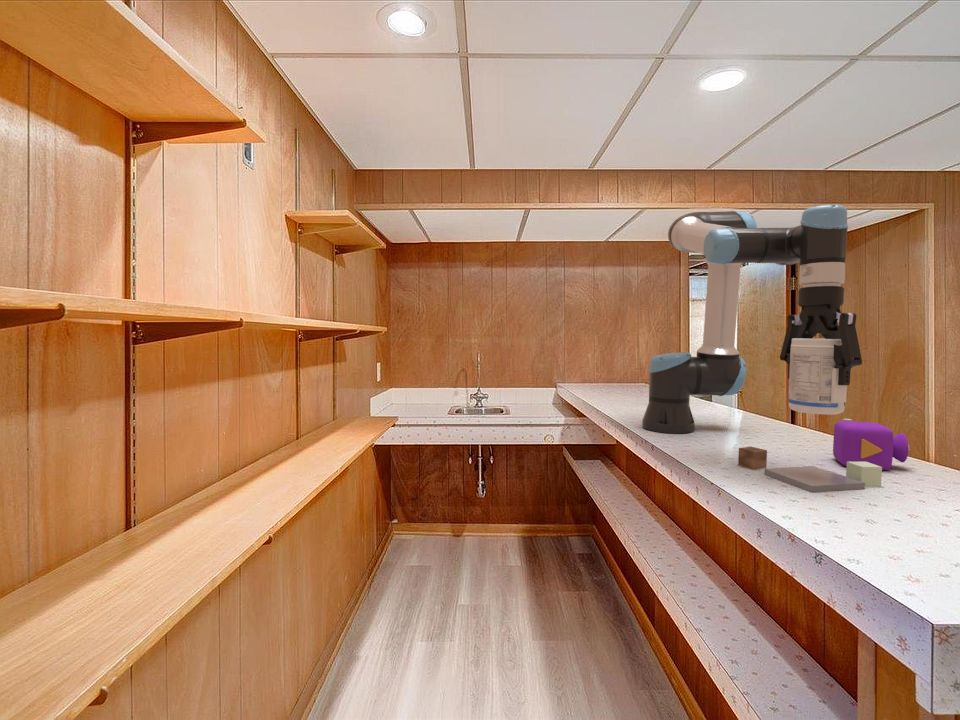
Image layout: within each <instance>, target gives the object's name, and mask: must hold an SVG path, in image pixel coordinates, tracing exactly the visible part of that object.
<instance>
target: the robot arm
mask: <svg viewBox="0 0 960 720" xmlns="http://www.w3.org/2000/svg"><path fill="white" fill-rule="evenodd" d="M800 219H801V220H800V222H799V223H800V225H797V226H793V227H758V226H757V225H758V224H757V222H756V220H755V218H754V216H753V215H752V214H751V213H749V212H746V211H736V210H734V211H733V210H730V211H728V210H727V211H695V212H694V211H693V212H689V213H685V214H683V215H682V216H681V215H680V216H678V217H677V218H676V219H675V220H674V221H673V222H672V224H671V225H670V226H669V229H668V232H667V237H668V242H669V244H670V245H671V246H672V247H673V249H675V250H677V251H680V252H682V253H689V254H690V253H692V254H701V255H703V257H702V258H703V261H704V262H705V263H706V265H707V267H708V268H707V282H706V294H705V295H706V297H705V310H704V321H703V322H704V323H703V324H704V325H703V335H702V336H703V337H702V338H703V340H702V345H701V346H700V347H699V348H698V349H697V350H696V356H692V353H691V352H684V351H683V352H682V351H681V352H667V353H661V354H655V355H653V356H652V357H651V358H650V361H649V370H648V372H649V379H648V381H649V382H648V384H649V385H648V404H647V406H646V410H645V412H644V413H643V414H644V415H643V418H642V420H641V421H642V422H641V426H642V427H641V428H643V429H645V430H648V431H651V432H652V431H653V432H659V433H664V434H665V433H666V434H667V433H668V434H687V433H688V434H689V433H693V432H695V428H696V427H695V426H696V425H695V420H694V416H693V413H692V410H691V407H690V398H691V397H690V396H718V397H723V396H734V395H736V394H738V393H739V392H740V391H741V389H742V388H743V386H744V384H745V381H746V376H747V367H746V365H747V363H746V361H745V360H744V358H742V357H740V351H739V350H737V348H736V346H735V343H736V342H735V341H736V328H737V316H738V303H739V289H740V279H741V266H742V265H743V264H776V265H778V266H786V265H787V266H792V265H795V264H799V276H798V277H799V278H798V284H799V286H802V287H799V289H798V295H797V297H798V298H797V305H798V306H799V307H801V310H800V312H799V314H788V316H787V318H786V320H787V328H786V330H785V335H784V338H783V341H782V343H783V344H782V346H781V350H780V356H779V359H780V361H784V362H785V363H786V364H787V378H788V380H789V378H790V350H791V343H792V338H815V337H816V335H817V334H820V335H821V336H822V338H825V339H841V342H842V345H840V346H839V345H835V344H834V358H833V359H834V361H835V363H836V365H835V366H833V367H834V368H832V387H831V402H834V403H839V402H845V403H847V393H848V392H847V391H848V386H849V385H850V383H851V370H852V368H854V367H857V366H861V365H862V364H863V359H862V353H861V348H860V343H859V338H858V337H859V336H858V333H857V332H858V331H857V328H856V322H857V314H856V313H854V312H842V310H841V306H843V305H844V300H845V288H844V287H843V286H841V285H843V284H844V283H845V281H846V277H845V276H846V257H847V241H848V228H849V224H848V209H847V207H846V206H844V205H840V204H823V205H816V206H812V207H808V208H806V209H804V210H803V212H802V214H801V218H800Z"/></svg>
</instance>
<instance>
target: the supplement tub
mask: <svg viewBox="0 0 960 720" xmlns="http://www.w3.org/2000/svg"><path fill="white" fill-rule="evenodd" d="M834 344H835V345H839V346H840V345H842V342H841V339H825V337H813V338H792V343H791V350H790V378H789V379H788V382H789V383H788V407H789V409H790V410H792V411H795V412H799V413H805V414H811V415H812V414H813V415H830V416H831V415H840V414H842V413H843V412H845V408H846V402H839V403H834V402H831V387H832V368H834V367H833V366H835V365H836V363H835V361H834V359H833V358H834Z"/></svg>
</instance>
